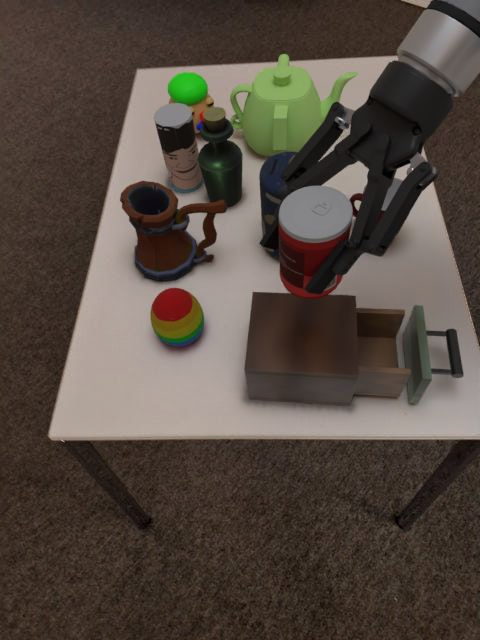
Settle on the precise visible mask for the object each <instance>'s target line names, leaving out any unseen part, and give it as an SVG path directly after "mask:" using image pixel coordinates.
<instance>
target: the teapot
mask: <svg viewBox="0 0 480 640" xmlns="http://www.w3.org/2000/svg"><path fill="white" fill-rule="evenodd" d="M358 74H359V72H357V71H350V72H346V73H344V74H341V75H340V76H338V77H337V79H336V80H335V82H333V86H332V88H331V92H330V94H329V95H328V96H327V97H326V98H325V99H323V100H321V98H320V96H319V93H318V91H317V88H316V86H315V83H314V81H313V79H312V77H311V75H310V73H309V72H308V71H307V70H306V69H305V68H303V67H301V66H293V65H290V56H289V55H288V54H287V53H282V54H280V55H279V56H278V60H277V66H270V67H265V68H263V69H262V70H260V71H259V72H258V73H257V74H256V75H255V78H254V79H253V81H252V84H249V83H240V84H238V85H236V86H235V87H234V88H233V89H232V90H231V92H230V97H229V98H230V104H231V107H232V109H233V111H234V113H235V114H233V115H232V116H231V118H230V120H229V121H230V122H231V124H232V127H233V129H234V130H238V131H240V130H242V134H243V137H244V139H245V142H246V143H247V144H248V146H249V147H250V148H251V149H252V150H253V151H254V152H255V153H256V154H258V155H260V156H264V157H272V156H274V155H276V154H279V153H282V152H299V151H300V150H301V148H302V147H303V146H304V145H305V144H306V142H307V141H308V140H309V139H310V138H311V136H312V135H313V134H314V133H315V132H316V130H317V129H318V128H319V127H320V126H321V124H322V123H323V122H324V120H325V118H326V116H327V114H328V111H329V109H330V107H331V105H332V104H333V103H334V102H339V103H340V101H341V96H342V94H343V90H344V88H345V87H346V85H347V83H348V82H349V81H351V80H352V79H354V78H355V77H357V76H358ZM241 93H247V95H246V98H245V102H244V105H243V109H241V106H240V105H239V103H238V100H237V95H238V94H241ZM237 120H238V121H237Z"/></svg>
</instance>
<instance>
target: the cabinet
mask: <svg viewBox="0 0 480 640" xmlns="http://www.w3.org/2000/svg"><path fill="white" fill-rule="evenodd" d="M251 296H252V297H251V305H250V315H249V324H248V334H247V341H246V352H245V360H244V375H245V382H246V389H247V395H248V400H253V401H254V400H257V401H268V402H269V401H272V402H286V403H301V404H316V405H331V406H332V405H335V406H351V403H352V400H353V397H354V394H353V393H354V390H355V387H356V383H357V380H358V377H359V370H358V341H357V312H356V308H357V295H351V294H349V295H347V294H328V295H327V296H324V297H322V298H318V299H303V298H299V297H297V296H295V295H293V294H291V293H290V292H268V291H252V295H251Z"/></svg>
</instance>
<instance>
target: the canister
mask: <svg viewBox="0 0 480 640" xmlns="http://www.w3.org/2000/svg"><path fill="white" fill-rule="evenodd" d="M297 153H298V152H282V153H279V154H276V155H274V156H269V157H268V158H267V159H266V160H265V161H264V162H263V163H262V165H261V167H260V170H259V175H258V178H259V195H260V210H261V211H260V217H261V234H262V237H263V236H264V235H265V234H266V232H267V231H268V229H269V228H270V226H271V225H272V223H273V222H274V220H275V219H276V218H275V217H274V216H273V214H274V211H275V210H276V208H277V207H278V205H279V204H280V202H281V201H282V199H283V197H284V196H285V194H286V193H287V186H286V184H285V182H284V181H283V180H282V179H281V173H282V171H283V170H284V169H285V168H286V167H287V165H288V164H289V163H290V162H291V161H292V159H293V158H294V157H295V156H296V154H297ZM264 249H265V250H266V251H267V253H268V254H269V255H270V256H272V257H273V258H275V259H278V260H279V247H278V248H277V250H273V249H269V248H265V247H264Z"/></svg>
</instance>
